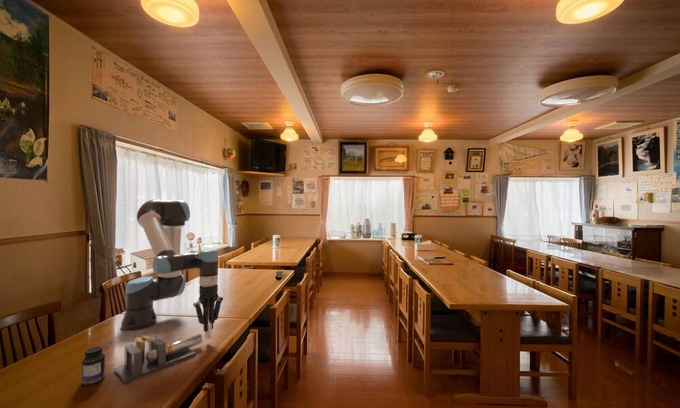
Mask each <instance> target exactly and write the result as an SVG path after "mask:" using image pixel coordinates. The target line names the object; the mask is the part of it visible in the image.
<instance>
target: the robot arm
mask: <svg viewBox="0 0 680 408" xmlns="http://www.w3.org/2000/svg"><path fill="white" fill-rule="evenodd" d="M190 217H191V210H190V207H189V204H188V203H187V202H186V201H185V200H181V199H150V200H148V201H146V202H144V203H142V205H141V206H140V207H139V208H138V210H137V214H136V220H137V223H138V225H139V226H140V227H142V228H143V232H145V235H146V238H147V241H148V243H149V246H150V247H151V249H152V250H151V251H152V252H153V254H154V256H155V257H154V258H153V259H152V265H151V266H152V271H153V273H154V274H156V275H157V276H156V278H154V276H151V275H148V276H147V275H146V276H142V277H141V276H140V277H138V278H134V279H132V280H130V281H128V282H127V283H126V286H125V311H124V312H125V313H124V315H123V318H122V320H121V324H120V328H121V329H122V330H124V331H135V330H136V331H137V330H142V329H145V328H149V327H152V326H153V325H155V324H156V323H157V321H158V317H157V314H156V312H155V309H154V302H157V301H161V300H165V299H166V300H167V299H171V298H175V297H178V296H181V295H182V294H183V293H184V291H185V288H186V277H185V275H184V274H183V271H184V272H185V271H189V270H190V271H191V270H195V269H196V270H197V269H198V270H199V281H198V282H199V289H198V290H199V291H198V292H199V297H198V301H196V302H194V303H193V304H192V305H193V307H194V309H195V312H196V315H197V320H198V323H199V324H200V325H203V332H204V333H205V334H204V338H206V339H207V340H209V339H212V334H213V333H212V330H214V324H215V321H218V318H219V314H220V310H221V304H222V303H223V300H224V297H223V296H219V251H218V250H217V249H215V248H210V249H209V248H208V249H207V248H206V249H202V250H200V251H197V250H196V251H191V252H188V253H187V252H186V253H181V242H182V241H181V240H182V228H183V227H184V226H185V225H186V222H188V221H189V219H190ZM201 306H202V307H201Z"/></svg>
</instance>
